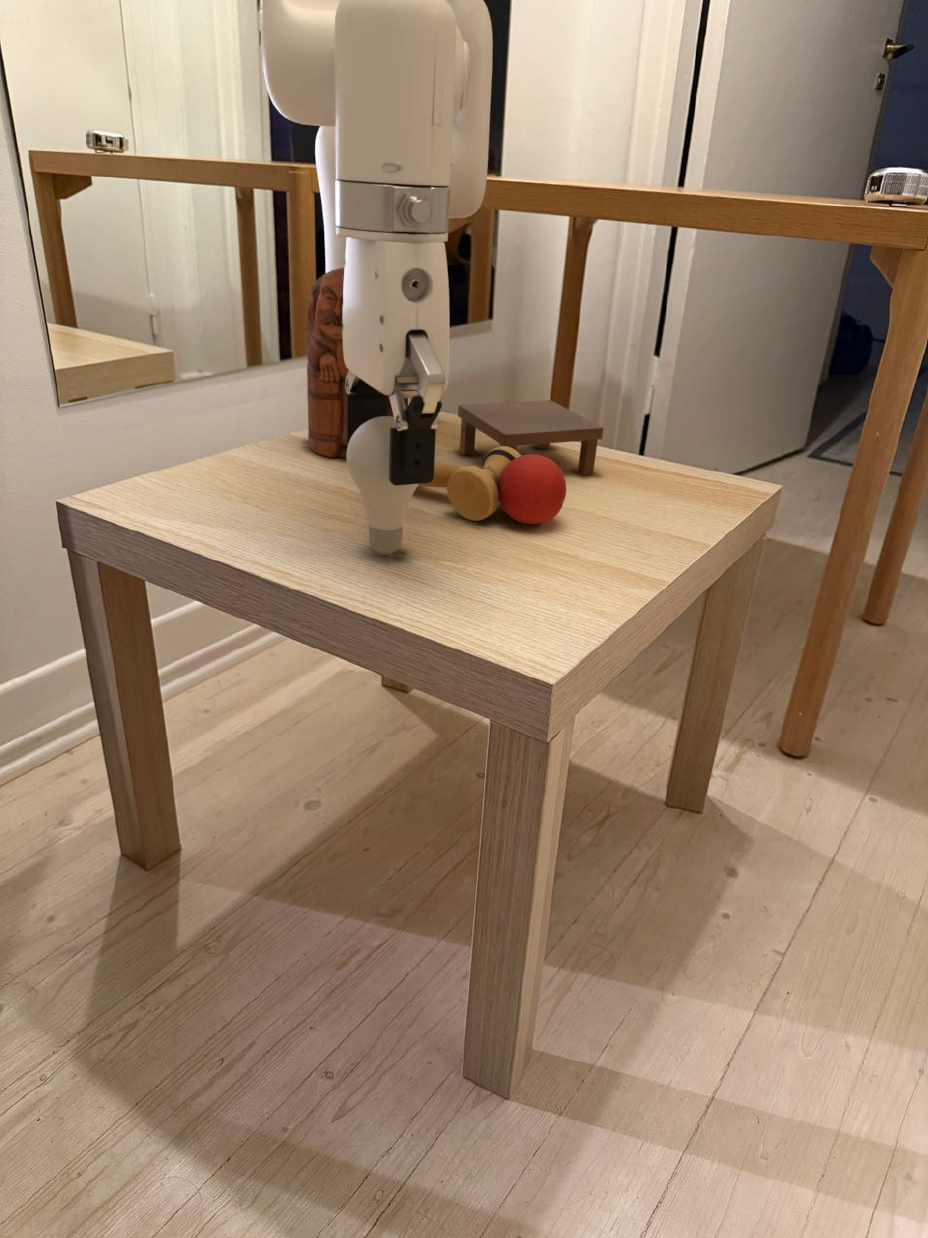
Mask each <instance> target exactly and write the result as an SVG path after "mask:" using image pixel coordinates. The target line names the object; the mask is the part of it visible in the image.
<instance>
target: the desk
mask: <svg viewBox="0 0 928 1238" xmlns="http://www.w3.org/2000/svg"><path fill="white" fill-rule="evenodd" d="M457 410H458V411H457V417H458V418H460V419H461V423H460V424H461V425H460V439H459V453H460V454H462V455H463V456H469V455H470V456H472V455H475V447H476V432H477V430H478V431H480V432H481V433H483V434H484V435H486V436H488V437H489V438H490V439H492V440H493V441H495V442H497V444H500V446H507V447H510V448H513V449H514V450H516V451H517V447H519V446H520V447H521V446H533V445H535V447H536V448H538V449H539V450H545V449H546V450H547V449H550V447H551V444H559V443H570V442H571V443H572V442H580V451H579V457H578V466H577V473H578V474H580V475H582V476H593V475H594V470H595V463H596V456H597V449H598V441H599V440H602V439H603V433H604V427H603V426H601V425H599V424H596V423H595V422H593V421H592V420H589V419H588V418H585V417H584V416H582V415H579V414H578V413H575V412H574V411H573V410H570V409H568V408H566V407H564V406H562V405H560V404H558V403H556V402H554V401H553V400H551V399H547V400H546V399H545V400H544V399H543V400H530V401H529V400H527V401H509V402H493V403H492V402H491V403H474V404H458V409H457ZM500 446H499V447H500Z"/></svg>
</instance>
